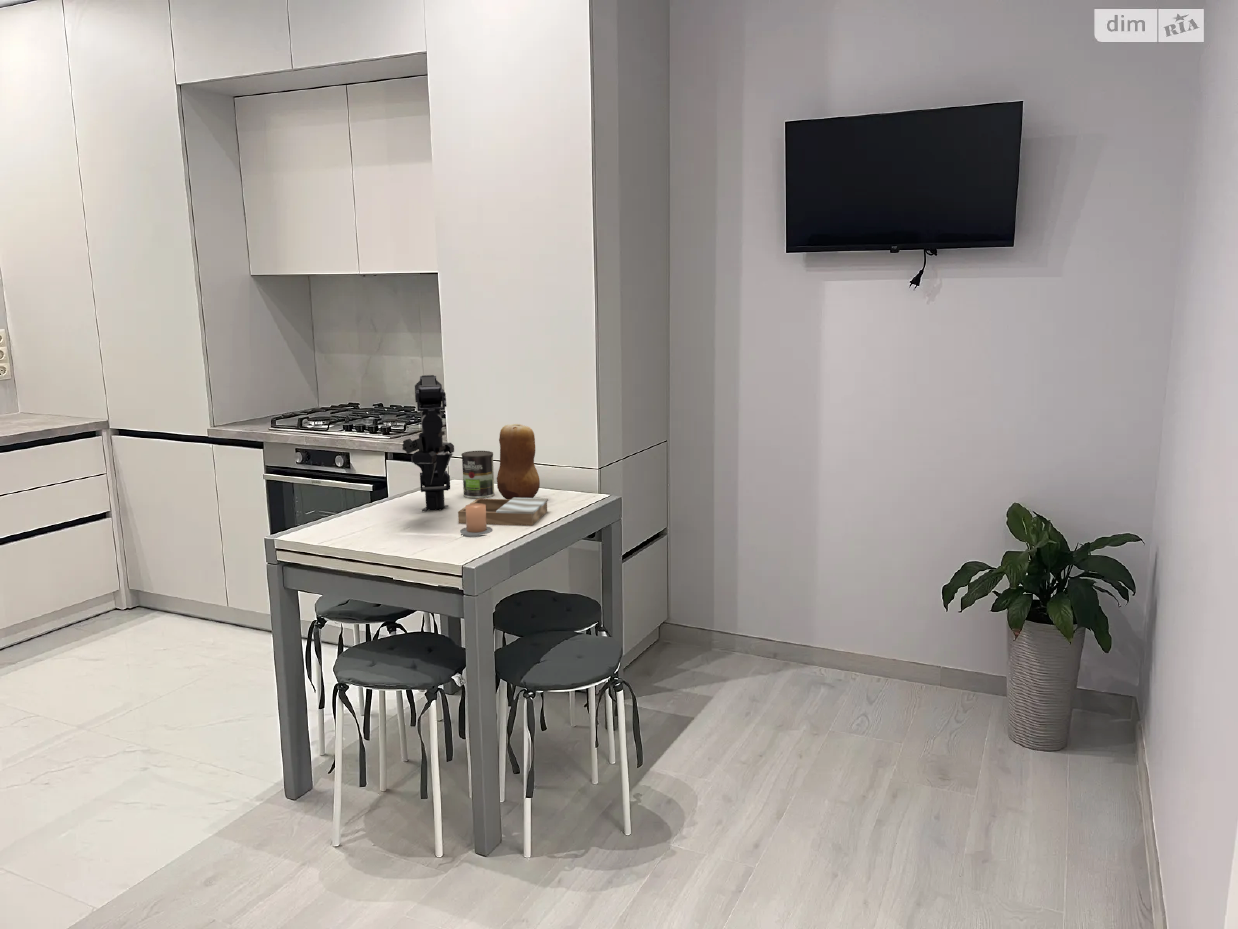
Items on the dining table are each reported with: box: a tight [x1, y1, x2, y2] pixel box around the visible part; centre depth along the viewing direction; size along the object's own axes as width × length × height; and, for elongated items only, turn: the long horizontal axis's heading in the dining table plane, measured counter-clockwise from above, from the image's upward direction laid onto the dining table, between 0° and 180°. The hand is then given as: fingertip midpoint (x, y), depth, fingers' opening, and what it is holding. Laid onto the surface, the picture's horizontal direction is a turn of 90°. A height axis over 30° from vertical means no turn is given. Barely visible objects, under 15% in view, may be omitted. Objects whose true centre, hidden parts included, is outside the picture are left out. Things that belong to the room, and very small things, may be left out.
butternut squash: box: [496, 423, 541, 499], centre depth 300 cm, size 14×13×25 cm
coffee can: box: [461, 450, 495, 499], centre depth 312 cm, size 10×10×14 cm
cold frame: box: [457, 497, 550, 527], centre depth 281 cm, size 17×22×5 cm
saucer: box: [459, 526, 493, 538], centre depth 266 cm, size 9×9×1 cm
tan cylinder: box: [464, 503, 488, 533], centre depth 265 cm, size 6×6×7 cm
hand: (434, 481), depth 277 cm, fingers open, 9 cm apart
